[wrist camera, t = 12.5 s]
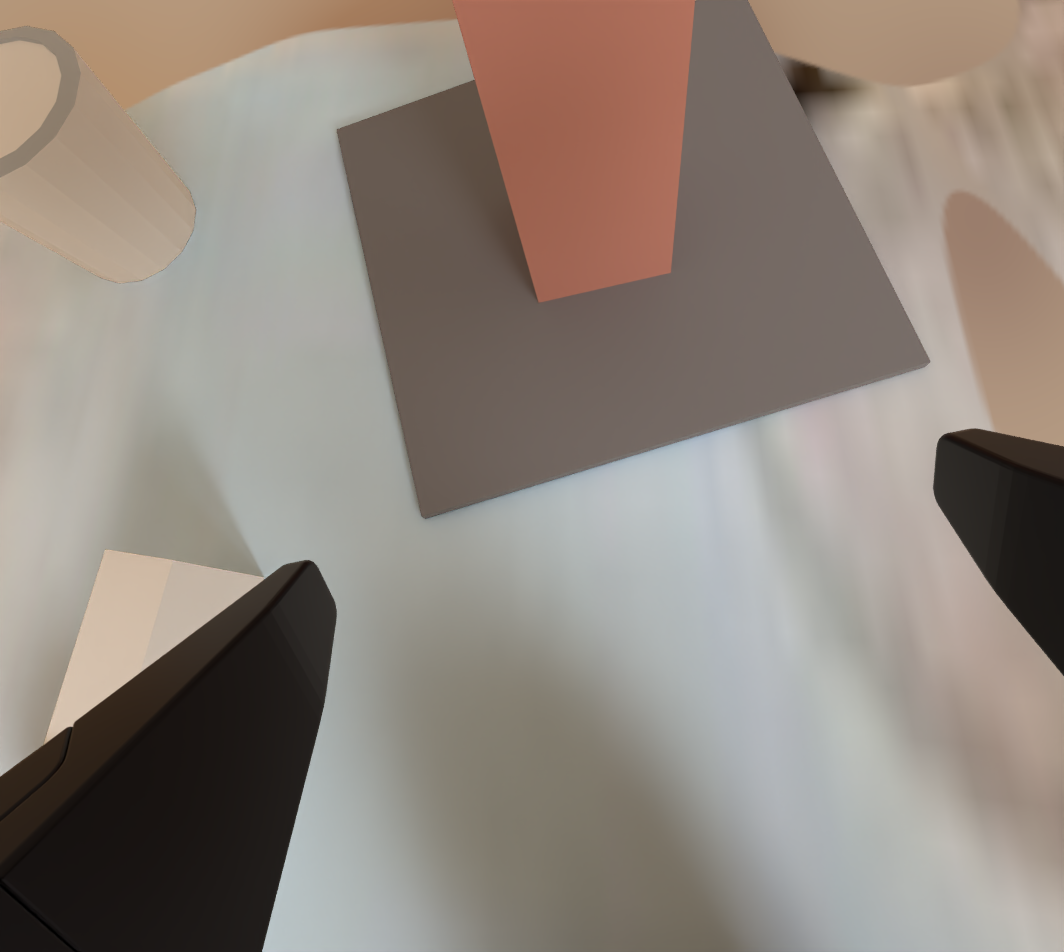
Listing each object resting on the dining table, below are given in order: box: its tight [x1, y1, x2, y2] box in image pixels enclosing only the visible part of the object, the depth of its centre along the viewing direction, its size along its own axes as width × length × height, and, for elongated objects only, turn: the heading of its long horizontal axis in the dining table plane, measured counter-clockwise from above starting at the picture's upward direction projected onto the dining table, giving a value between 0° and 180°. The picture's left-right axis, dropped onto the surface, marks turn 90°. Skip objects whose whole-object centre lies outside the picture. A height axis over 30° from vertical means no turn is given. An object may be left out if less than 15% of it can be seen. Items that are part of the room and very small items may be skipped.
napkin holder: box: [43, 549, 264, 745], centre depth 20 cm, size 15×11×6 cm
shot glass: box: [0, 26, 196, 283], centre depth 25 cm, size 7×7×7 cm
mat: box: [337, 0, 930, 519], centre depth 25 cm, size 18×18×1 cm
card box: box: [452, 0, 695, 303], centre depth 18 cm, size 5×5×13 cm
